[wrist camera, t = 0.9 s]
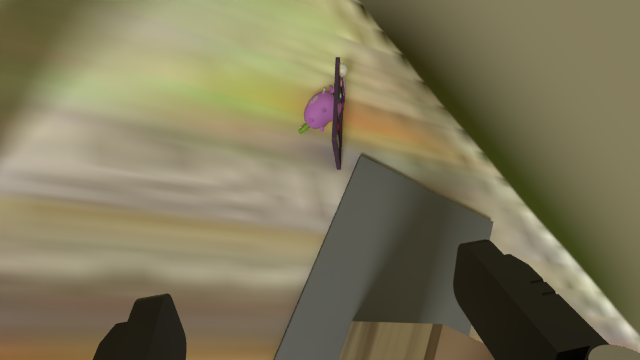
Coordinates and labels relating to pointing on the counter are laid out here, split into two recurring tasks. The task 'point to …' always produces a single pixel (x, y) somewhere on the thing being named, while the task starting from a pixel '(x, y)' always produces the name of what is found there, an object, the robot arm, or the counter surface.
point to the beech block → (410, 343)
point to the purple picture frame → (329, 110)
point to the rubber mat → (382, 263)
